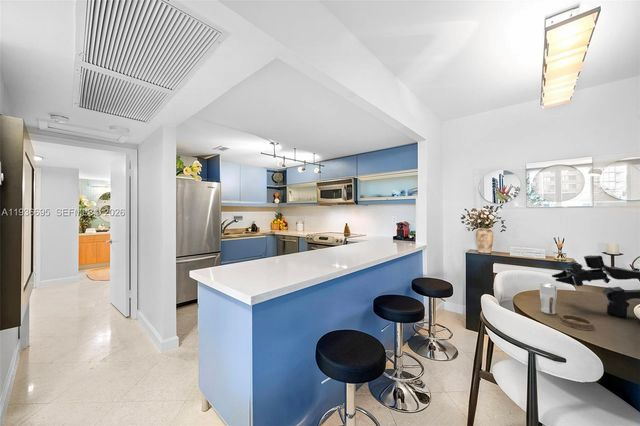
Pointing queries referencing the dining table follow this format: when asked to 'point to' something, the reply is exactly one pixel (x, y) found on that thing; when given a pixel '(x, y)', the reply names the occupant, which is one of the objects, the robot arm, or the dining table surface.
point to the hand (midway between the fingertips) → (553, 278)
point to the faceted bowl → (576, 322)
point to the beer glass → (548, 298)
